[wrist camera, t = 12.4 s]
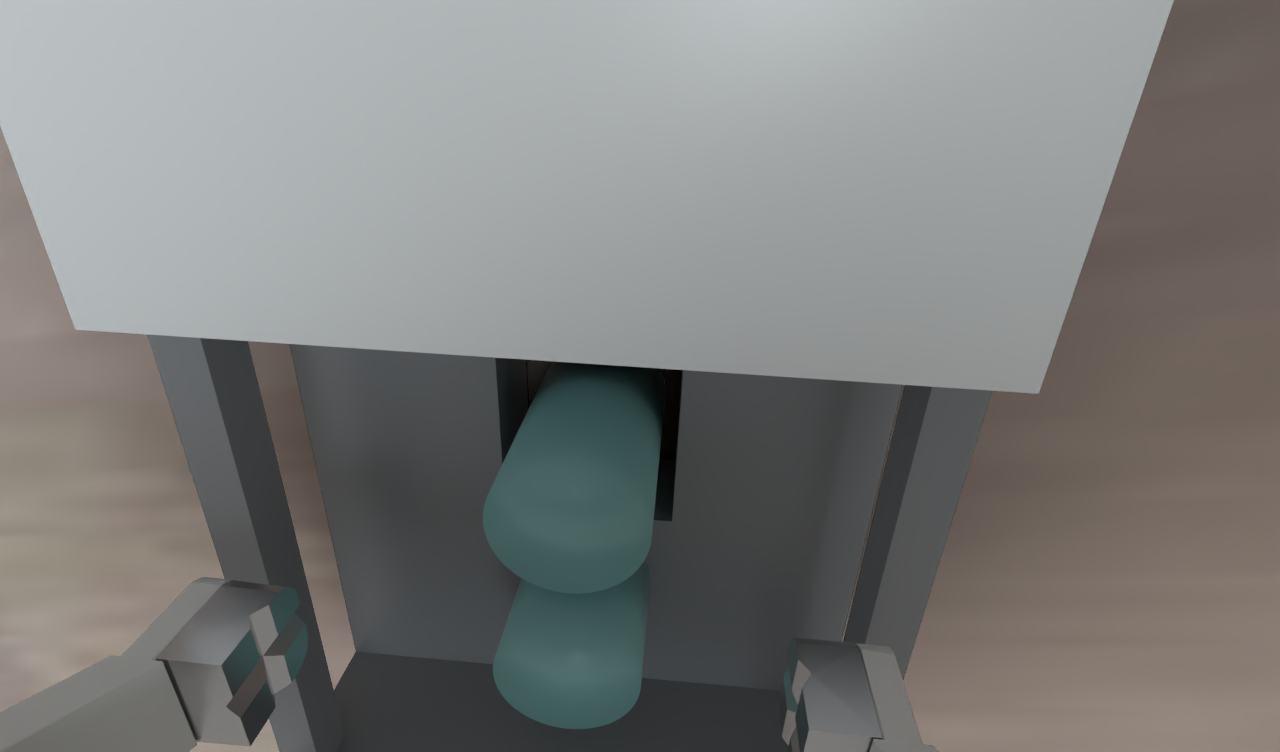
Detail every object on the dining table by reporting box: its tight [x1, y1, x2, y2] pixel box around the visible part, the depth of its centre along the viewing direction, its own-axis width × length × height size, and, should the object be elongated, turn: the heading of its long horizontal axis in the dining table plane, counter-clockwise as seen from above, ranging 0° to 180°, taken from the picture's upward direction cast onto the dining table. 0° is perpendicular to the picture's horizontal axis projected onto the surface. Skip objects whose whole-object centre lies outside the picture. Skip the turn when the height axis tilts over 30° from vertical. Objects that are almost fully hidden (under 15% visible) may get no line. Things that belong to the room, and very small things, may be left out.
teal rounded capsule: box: [483, 361, 665, 594], centre depth 17 cm, size 4×4×6 cm
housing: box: [147, 334, 992, 752], centre depth 13 cm, size 15×30×9 cm, turn 178°
